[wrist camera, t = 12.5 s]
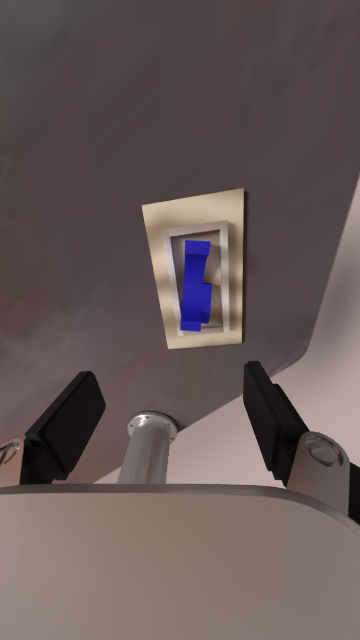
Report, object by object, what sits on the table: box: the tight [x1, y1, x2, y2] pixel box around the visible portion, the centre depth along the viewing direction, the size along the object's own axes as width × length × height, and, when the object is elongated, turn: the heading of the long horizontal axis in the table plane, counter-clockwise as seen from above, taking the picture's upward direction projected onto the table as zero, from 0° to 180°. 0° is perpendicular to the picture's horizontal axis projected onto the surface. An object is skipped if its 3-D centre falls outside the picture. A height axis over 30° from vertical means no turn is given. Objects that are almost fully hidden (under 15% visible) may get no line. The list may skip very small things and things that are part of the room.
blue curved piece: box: [180, 240, 212, 332], centre depth 25 cm, size 12×4×6 cm, turn 177°
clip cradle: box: [142, 188, 244, 349], centre depth 28 cm, size 24×14×2 cm, turn 8°
